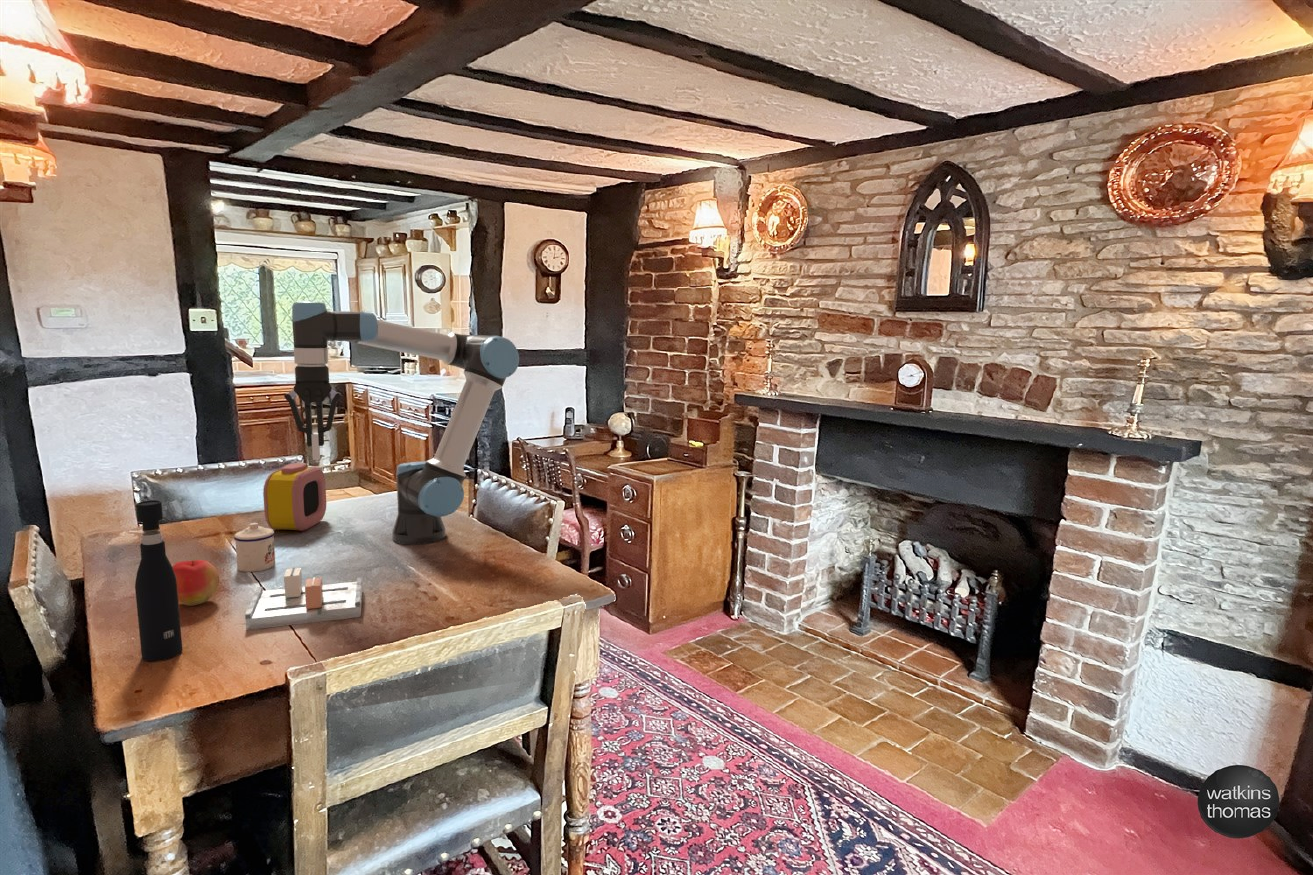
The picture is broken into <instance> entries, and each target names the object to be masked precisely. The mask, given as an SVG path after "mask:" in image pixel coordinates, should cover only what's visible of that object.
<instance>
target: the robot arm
mask: <svg viewBox="0 0 1313 875" xmlns="http://www.w3.org/2000/svg"><path fill="white" fill-rule="evenodd" d="M326 307H327V306H326V304H325V303H324V302H320V301H319V302H317V301H295V302H294V303H293V304H292V306H291V309H292V310H291V311H292V312H291V323H292V335H293V336H292V339H293V357H294V358H293V359H294V364H296V366H295V367H294V378H295V384H294V386H293V389H292V390H291V391H289V392H287V393H285V394H284V395H283V397H284V399H285V400H286V401H287V403H288V404H289V406H290V410H291V413H292V416H293V419H294V421H295V425H296V428H297V430H298V432H300V433H303V434H305V435H306V445H307V446H308V447H311V451H312V460H313V461H319V460H320V459H321V448H320V447H323V446H324V444H325V433H326V432H330V431H331V430H332V426H333V421H334V417H335V413H336V408H337V404H338V401H339V400H340V399H341V397H342V393H341V392H337V391H336V390H334V389H333V388H332V385H331V383H330V372H329V371H330V370H329V369H330V368H329V367H328V366H327V365H328V364H329V350H328V349H329V348H328V342H348V343H352V344H360V345H364V346H369V347H374V348H378V349H383V350H388V351H394V352H399V353H404V354H409V355H414V356H419V357H424V358H428V359H429V358H430V359H434V360H438V361H439V360H440V361H442V362H443V363H444V365H447V366H452V367H456V368H459V369H463V370H464V371H463V374H464V378H465V382H464V385H463V387H462V389H461V392H460V394H459V397H458V399H457V401H456V404H455V406H454V408H453V411H452V414H451V416H450V418H449V421H448V422H447V425H446V428H445V430H444V433H443V435H442V438H441V440H440V441H439V444H438V446H437V449H436V452H435V454H434V456H433V457H432V458H430V459H428V460H425V461H424V460H423V461H421V460H420V461H412V462H404V463H399V464H398V465H397V466H396V474H395V477H396V492H397V493H396V496H397V497H396V498H397V516H396V519H395V522H394V524H393V529H392V540H393V542H395V543H397V544H402V545H425V544H431V543H435V542H438V541H441V540H442V539H444V538H445V537H446V527H445V524H444V521H443V518H442V517H448V516H449V515H451V514H453V513H455V512H456V511H457V510H458V509H459V508H460V507H461V505H462V504H463V502H464V498H465V497H464V496H465V490H464V487H463V483H464V481H465V478H466V477H467V475H466V473H465V470H464V467H465V464H466V462H467V459H468V457H469V455H470V453H471V450H472V447H473V445H474V442H475V439H476V438H477V435H478V433H479V430H480V428H481V426H482V423H483V421H484V418H485V416H486V413H487V411H488V409H489V406H490V404H491V402H492V398H493V396H494V394H495V392H496V391H498V390H501V389H503V386H504V384H505V381H506V379H507V378H509V377H511V376H512V375H514V373H516V371H517V369H518V367H519V363H520V354H519V352H518V348H517V347H516V345H515V343H513V341H511V340H510V339H509V338H507V337H504V336H500V335H495V334H494V335H493V334H492V335H485V334H461V333H455V332H449V333H448V334H444V333H438V332H434V331H429V330H426V329H425V330H424V329H421V328H416V327H412V326H407V325H401V324H398V323H393V322H389V321H384V320H380V319H377V315H376V314H374V313H373V312H372V311H371V312H369V311H363V310H362V311H352V310H351V311H350V310H349V311H345V310H343V311H342V310H330V309H329V310H328V309H327V308H326ZM296 395H297V396H298V398H300V400H301V401H302V402H304V414H305V415H304V416H305V425H304V422H303V420H302V417H301V413H300V410H299V407H298V404H297V401H296V399H297V396H296ZM329 395H330V399H331V402H330V405H329V411H328V416H327V418H326V419H327V420H326V424H325V425H324V413H323V412H324V408H323V407H324V406H323V404H324V401H325V399H327V397H328V396H329ZM312 403H314V404H315V407H316V420H317V421H316V423H317V432H313V417H312V416H313V413H312Z"/></svg>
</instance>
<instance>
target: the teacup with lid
mask: <svg viewBox="0 0 1313 875" xmlns="http://www.w3.org/2000/svg"><path fill="white" fill-rule="evenodd" d="M274 536H275V530H274V529H272V528H270V527H264V526H261V525H259V523H258V522H251V523H249V526H247V527H245V528H244V529H243V530H240V531H238V532H236V533H235V534H234V537H233V539H234V540H235V542H234V543H235V552H236V568H237V570H238V571H240V572H245V573H253V572H255V573H256V572H261V571H265V570H269V569H271V568H272V567H274V566H275V565H276V554H275V553H276V552H275V538H274Z"/></svg>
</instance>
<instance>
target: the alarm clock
mask: <svg viewBox="0 0 1313 875" xmlns="http://www.w3.org/2000/svg"><path fill="white" fill-rule="evenodd" d="M264 481H265V482H264V484H263V492H262V494H263V510H264V519H265V522H266V525H268V528H269V529H272V530H273V531H276V530H285V531H286V530H288V531H289V530H291V531H293V530H294V531H299V532H302V531H307V530H309V529H311V528H312V527H314V526H316V525H317V524H318V523H320V522H321V521H322V520H323V519H324V517H325V514H326V511H327V487H326V486H327V485H326V477H325V473H324V472H323V470H322V469H321V468H320V467H317V466H313V467H308V466H307V463H306V462H294V463H290V464H287V465H284V466H283V467H281V469H278V470H275V471H273V472H271V473H269V474H268V476H267V478H266V479H265V480H264Z"/></svg>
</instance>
